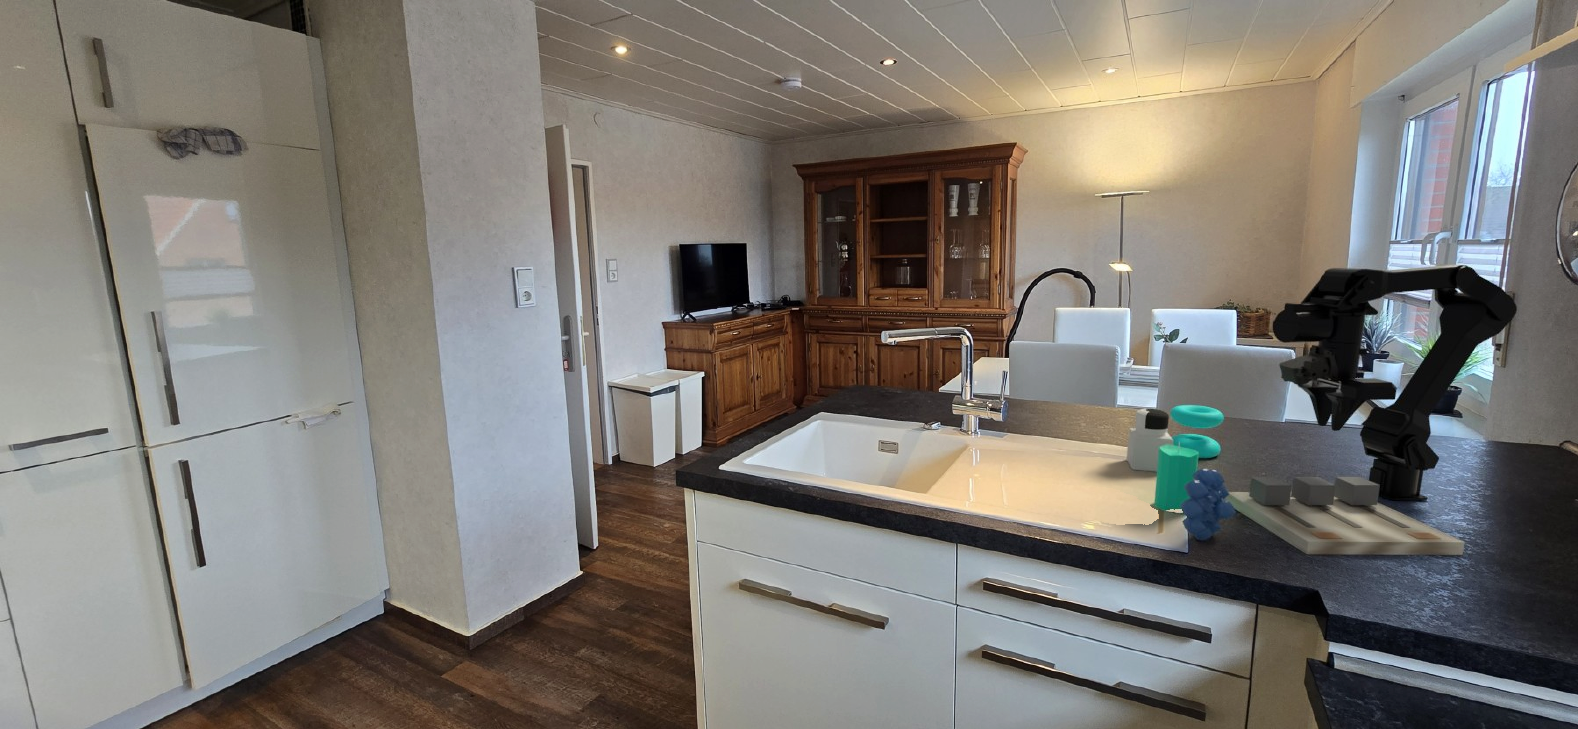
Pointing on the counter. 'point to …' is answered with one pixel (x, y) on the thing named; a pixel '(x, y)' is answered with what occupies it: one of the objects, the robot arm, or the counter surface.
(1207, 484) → the grapes
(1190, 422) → the donuts
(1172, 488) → the candle
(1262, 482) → the tab far
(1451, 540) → the switch panel
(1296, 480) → the tab middle
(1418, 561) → the counter surface
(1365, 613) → the counter surface
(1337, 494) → the grey boxy piece
